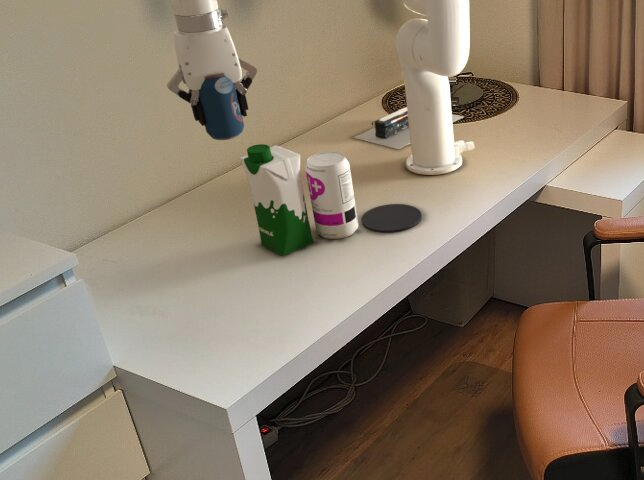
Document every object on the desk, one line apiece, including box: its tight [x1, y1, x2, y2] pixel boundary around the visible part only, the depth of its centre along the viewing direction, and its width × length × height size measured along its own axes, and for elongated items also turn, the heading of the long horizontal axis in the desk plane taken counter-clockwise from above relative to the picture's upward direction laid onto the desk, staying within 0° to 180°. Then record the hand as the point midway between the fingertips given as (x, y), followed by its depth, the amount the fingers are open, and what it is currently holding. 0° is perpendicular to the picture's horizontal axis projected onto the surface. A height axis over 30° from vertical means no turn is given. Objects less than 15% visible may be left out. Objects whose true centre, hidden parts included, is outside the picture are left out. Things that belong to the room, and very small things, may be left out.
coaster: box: [360, 203, 423, 234], centre depth 182 cm, size 12×12×1 cm
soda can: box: [198, 73, 245, 141], centre depth 167 cm, size 7×7×12 cm
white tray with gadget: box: [352, 106, 465, 150], centre depth 223 cm, size 14×25×4 cm, turn 146°
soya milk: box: [239, 143, 314, 257], centre depth 168 cm, size 9×9×20 cm
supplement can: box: [304, 151, 359, 240], centre depth 174 cm, size 8×8×15 cm
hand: (222, 118), depth 169 cm, fingers closed on soda can, 7 cm apart
